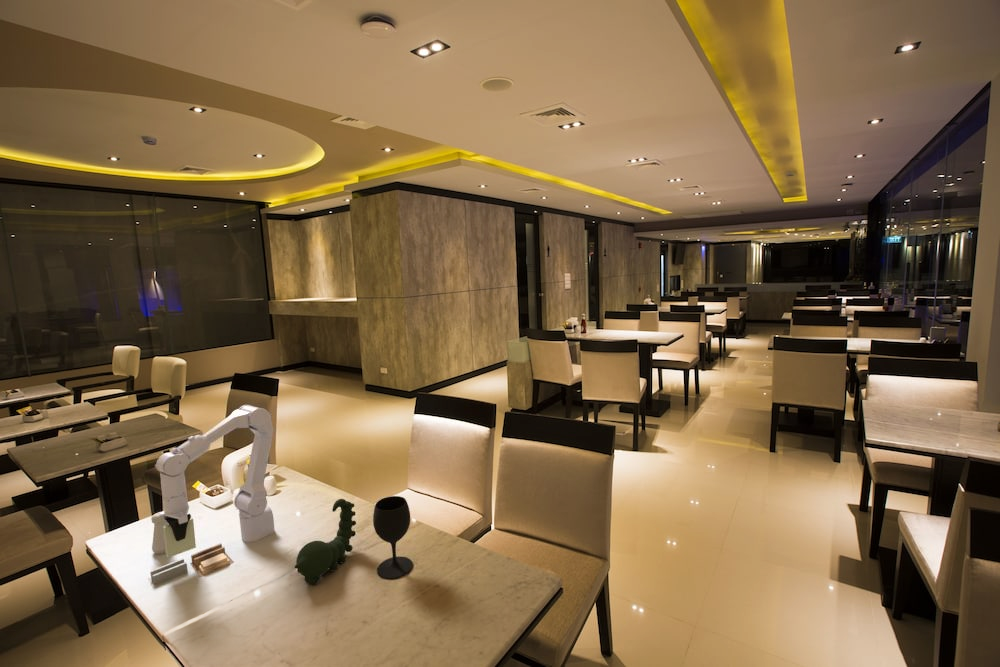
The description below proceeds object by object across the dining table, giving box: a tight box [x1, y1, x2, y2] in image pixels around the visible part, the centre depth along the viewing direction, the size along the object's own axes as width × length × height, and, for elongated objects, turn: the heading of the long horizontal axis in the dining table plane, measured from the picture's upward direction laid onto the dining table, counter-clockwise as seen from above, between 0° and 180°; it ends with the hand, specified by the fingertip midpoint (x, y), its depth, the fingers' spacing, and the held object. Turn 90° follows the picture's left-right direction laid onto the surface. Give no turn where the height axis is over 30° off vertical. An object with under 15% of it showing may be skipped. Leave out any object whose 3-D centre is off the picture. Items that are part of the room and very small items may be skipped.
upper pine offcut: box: [201, 553, 227, 570], centre depth 137 cm, size 6×4×1 cm, turn 137°
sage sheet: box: [163, 516, 197, 559], centre depth 135 cm, size 7×2×9 cm, turn 137°
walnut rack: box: [189, 542, 235, 578], centre depth 139 cm, size 9×10×3 cm
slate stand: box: [148, 558, 191, 588], centre depth 133 cm, size 9×6×3 cm, turn 137°
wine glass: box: [372, 495, 414, 580], centre depth 133 cm, size 10×10×20 cm
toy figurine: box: [294, 498, 357, 586], centre depth 134 cm, size 9×19×25 cm
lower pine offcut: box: [199, 555, 230, 575], centre depth 137 cm, size 7×4×1 cm, turn 137°
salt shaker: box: [151, 511, 169, 555], centre depth 146 cm, size 6×6×13 cm
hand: (179, 538), depth 135 cm, fingers closed on sage sheet, 1 cm apart
